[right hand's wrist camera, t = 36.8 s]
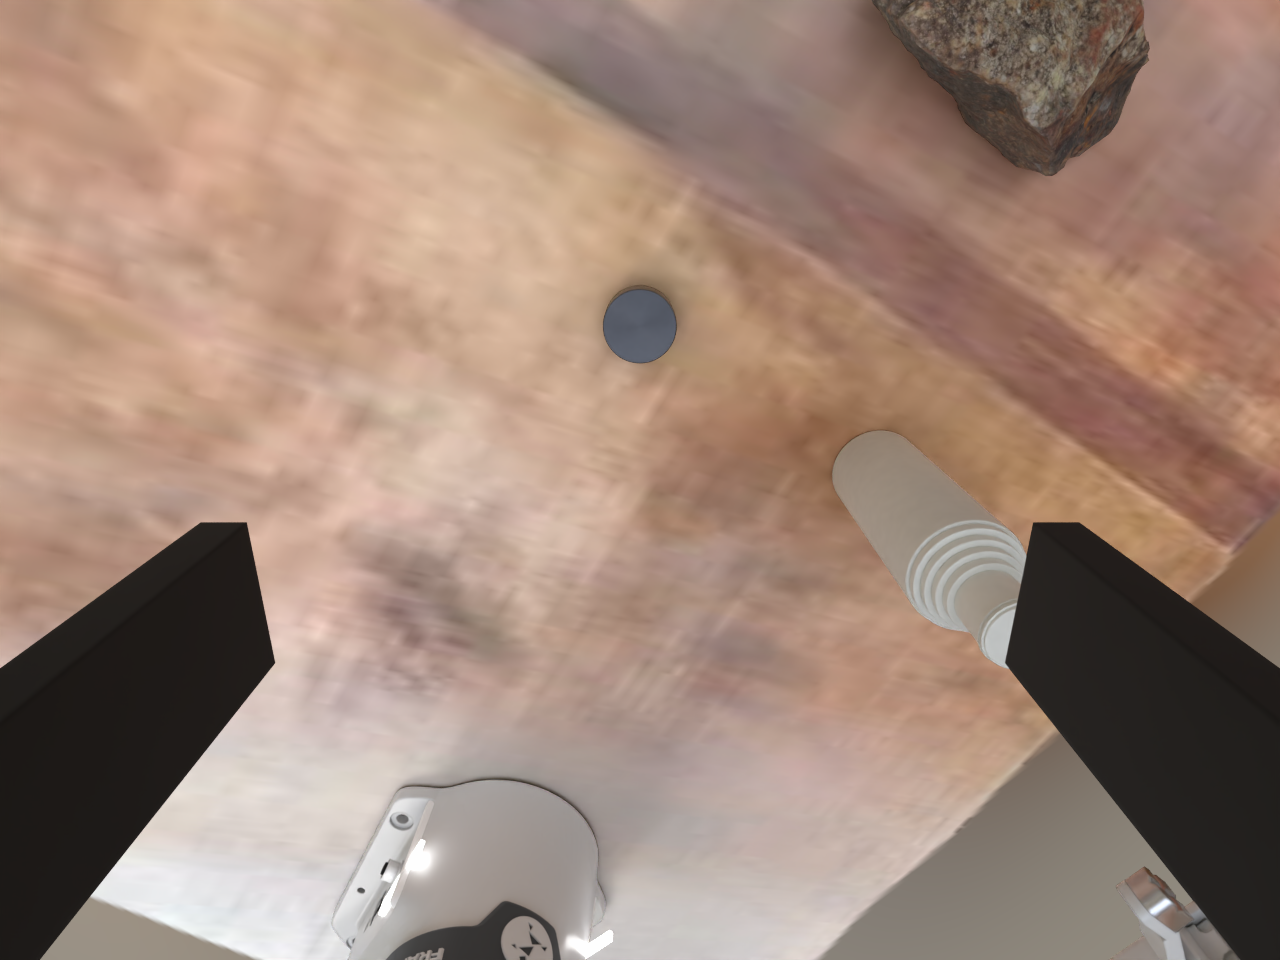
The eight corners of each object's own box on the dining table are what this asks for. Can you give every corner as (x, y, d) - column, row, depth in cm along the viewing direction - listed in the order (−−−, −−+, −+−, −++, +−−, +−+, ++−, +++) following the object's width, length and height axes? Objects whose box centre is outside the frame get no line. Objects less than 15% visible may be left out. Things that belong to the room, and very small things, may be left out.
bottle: (902, 415, 44) (1073, 553, 27) (930, 490, 46) (1109, 666, 28) (818, 452, 45) (932, 610, 28) (849, 524, 47) (974, 716, 29)
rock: (998, 226, 41) (1150, 74, 38) (1094, 243, 33) (1293, 54, 31) (823, 23, 37) (981, -165, 34) (886, -13, 29) (1098, -261, 26)
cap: (612, 362, 43) (611, 369, 41) (597, 293, 42) (595, 297, 40) (680, 348, 43) (682, 355, 41) (667, 278, 41) (669, 282, 39)
